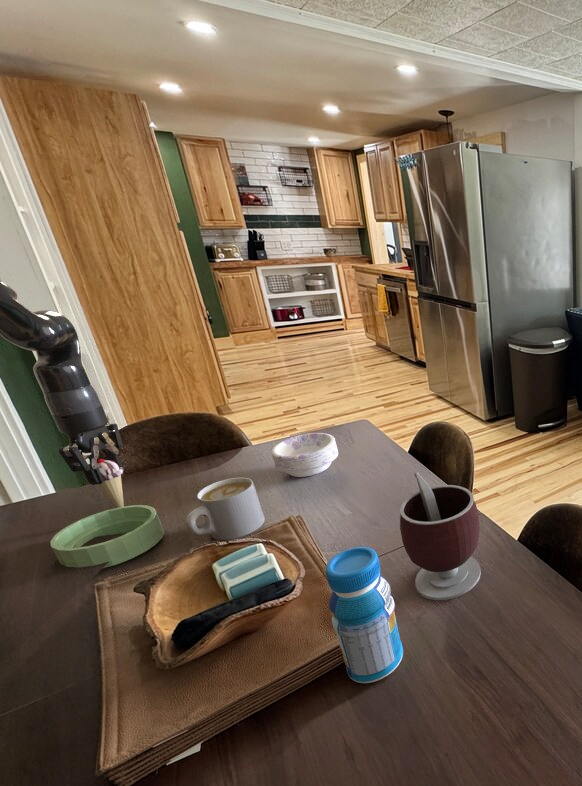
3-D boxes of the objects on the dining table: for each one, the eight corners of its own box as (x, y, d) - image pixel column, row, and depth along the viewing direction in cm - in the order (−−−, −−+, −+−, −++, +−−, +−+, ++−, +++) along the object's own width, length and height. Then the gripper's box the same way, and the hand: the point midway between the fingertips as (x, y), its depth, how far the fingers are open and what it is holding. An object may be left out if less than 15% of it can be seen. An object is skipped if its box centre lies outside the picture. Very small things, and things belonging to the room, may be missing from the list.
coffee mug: (254, 509, 114) (242, 473, 110) (272, 523, 109) (260, 486, 105) (185, 537, 104) (169, 498, 100) (201, 554, 98) (185, 514, 95)
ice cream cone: (101, 520, 109) (74, 463, 103) (129, 507, 114) (105, 451, 108) (119, 524, 108) (93, 466, 102) (147, 510, 113) (124, 454, 107)
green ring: (41, 581, 91) (27, 555, 89) (98, 533, 105) (87, 510, 103) (138, 567, 95) (126, 543, 92) (180, 523, 109) (171, 501, 106)
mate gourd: (498, 578, 92) (489, 490, 85) (430, 615, 84) (413, 521, 76) (460, 542, 103) (449, 460, 95) (396, 571, 94) (378, 484, 86)
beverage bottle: (370, 695, 69) (342, 589, 62) (334, 671, 73) (304, 568, 65) (416, 653, 76) (396, 553, 69) (381, 632, 80) (358, 535, 72)
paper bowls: (285, 489, 122) (277, 462, 119) (273, 468, 133) (265, 442, 130) (347, 470, 132) (341, 444, 129) (332, 451, 142) (326, 427, 139)
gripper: (79, 397, 106) (109, 463, 112) (25, 421, 93) (62, 495, 99) (119, 394, 108) (146, 460, 114) (72, 418, 95) (105, 490, 101)
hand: (107, 476), depth 107 cm, fingers closed on ice cream cone, 5 cm apart
